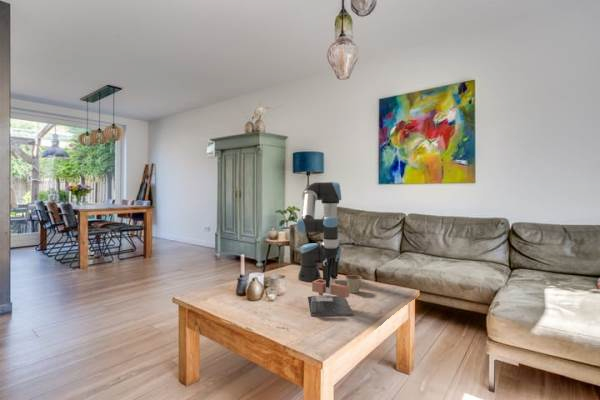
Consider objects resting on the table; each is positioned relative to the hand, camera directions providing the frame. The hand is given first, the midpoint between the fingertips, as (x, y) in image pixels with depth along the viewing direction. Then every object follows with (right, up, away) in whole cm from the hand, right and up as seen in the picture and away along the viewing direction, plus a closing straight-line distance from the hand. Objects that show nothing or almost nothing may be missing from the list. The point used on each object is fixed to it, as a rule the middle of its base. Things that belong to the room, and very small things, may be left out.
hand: (330, 292), depth 160 cm
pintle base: (-1, -7, -1) cm, 7 cm away
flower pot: (+16, -6, +22) cm, 28 cm away
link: (0, 0, 0) cm, 1 cm away
